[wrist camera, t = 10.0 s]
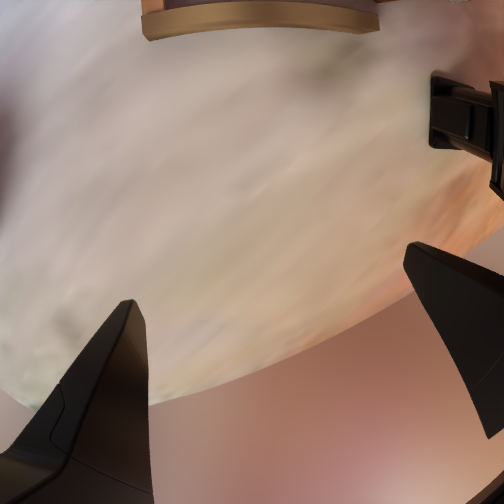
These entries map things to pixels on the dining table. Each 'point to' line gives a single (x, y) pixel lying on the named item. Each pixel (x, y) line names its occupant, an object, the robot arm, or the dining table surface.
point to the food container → (452, 0)
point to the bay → (250, 17)
